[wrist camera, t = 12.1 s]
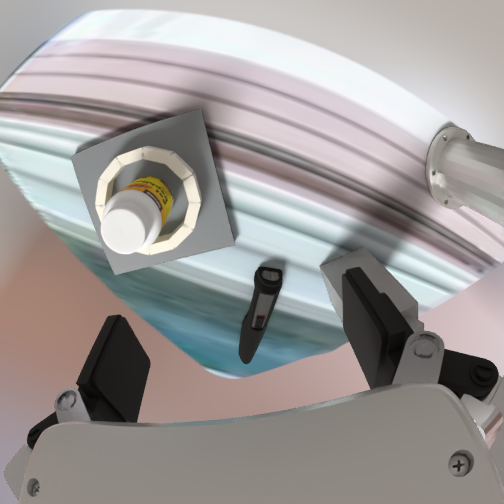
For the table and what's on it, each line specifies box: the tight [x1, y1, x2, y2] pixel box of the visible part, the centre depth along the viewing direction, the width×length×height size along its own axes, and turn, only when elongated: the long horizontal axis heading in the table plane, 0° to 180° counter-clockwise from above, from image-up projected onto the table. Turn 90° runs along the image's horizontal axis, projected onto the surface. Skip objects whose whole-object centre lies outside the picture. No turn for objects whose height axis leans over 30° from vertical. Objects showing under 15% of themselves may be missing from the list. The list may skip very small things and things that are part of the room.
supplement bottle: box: [101, 175, 174, 254], centre depth 25 cm, size 6×6×10 cm
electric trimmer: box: [239, 267, 282, 364], centre depth 38 cm, size 4×16×3 cm, turn 166°
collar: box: [71, 109, 235, 275], centre depth 29 cm, size 16×16×3 cm
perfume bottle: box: [320, 247, 424, 333], centre depth 30 cm, size 7×7×18 cm
